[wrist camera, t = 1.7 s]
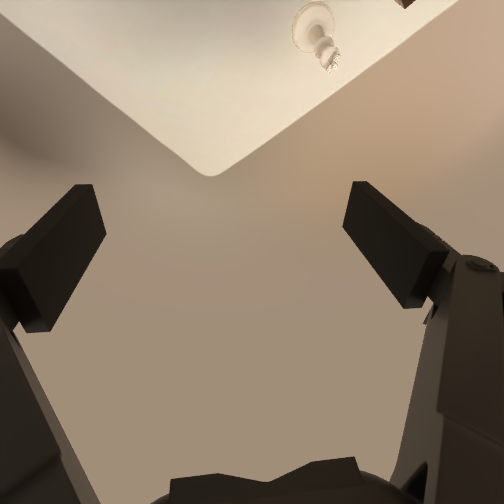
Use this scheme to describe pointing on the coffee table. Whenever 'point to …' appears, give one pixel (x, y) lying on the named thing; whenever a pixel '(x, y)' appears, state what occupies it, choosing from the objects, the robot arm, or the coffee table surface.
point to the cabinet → (404, 3)
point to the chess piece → (316, 34)
